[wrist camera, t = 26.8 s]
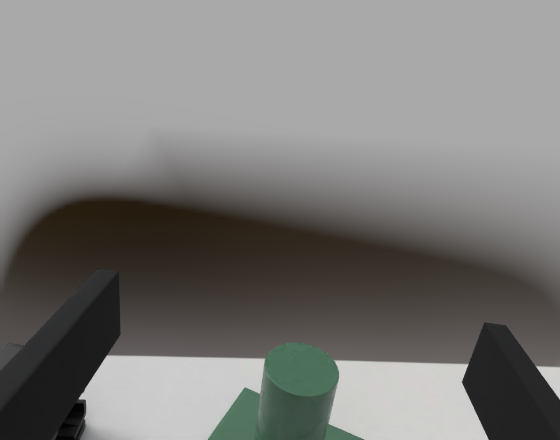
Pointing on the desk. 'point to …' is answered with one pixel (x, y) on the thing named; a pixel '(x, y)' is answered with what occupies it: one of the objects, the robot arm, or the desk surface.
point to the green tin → (296, 393)
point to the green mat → (242, 421)
